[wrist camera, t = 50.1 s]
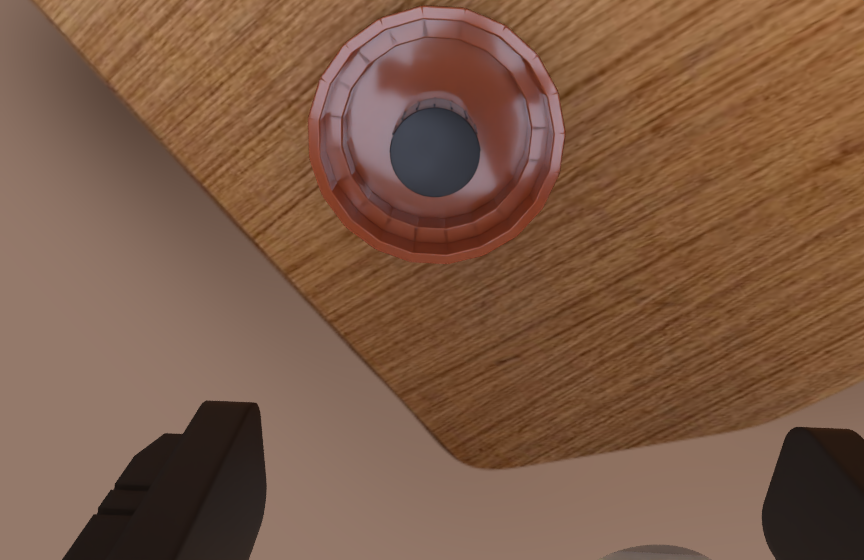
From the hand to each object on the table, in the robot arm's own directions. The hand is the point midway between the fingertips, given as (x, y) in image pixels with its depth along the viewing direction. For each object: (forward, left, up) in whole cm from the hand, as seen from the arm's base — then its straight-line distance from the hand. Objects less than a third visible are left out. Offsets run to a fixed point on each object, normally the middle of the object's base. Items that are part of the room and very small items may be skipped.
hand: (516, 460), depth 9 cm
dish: (+1, +1, -23) cm, 23 cm away
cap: (0, +2, -20) cm, 20 cm away
